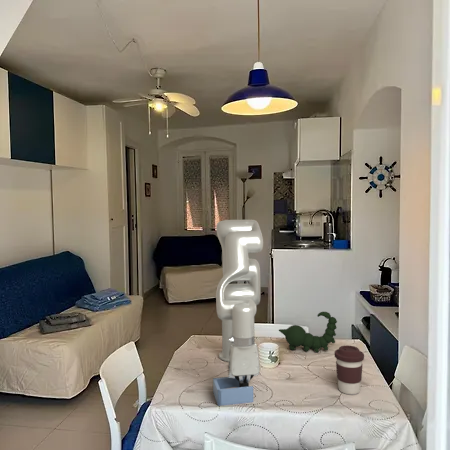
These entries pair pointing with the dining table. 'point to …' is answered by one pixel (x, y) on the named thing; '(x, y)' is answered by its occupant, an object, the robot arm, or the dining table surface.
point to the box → (231, 391)
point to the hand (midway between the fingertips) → (244, 392)
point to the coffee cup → (349, 369)
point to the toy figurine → (310, 335)
